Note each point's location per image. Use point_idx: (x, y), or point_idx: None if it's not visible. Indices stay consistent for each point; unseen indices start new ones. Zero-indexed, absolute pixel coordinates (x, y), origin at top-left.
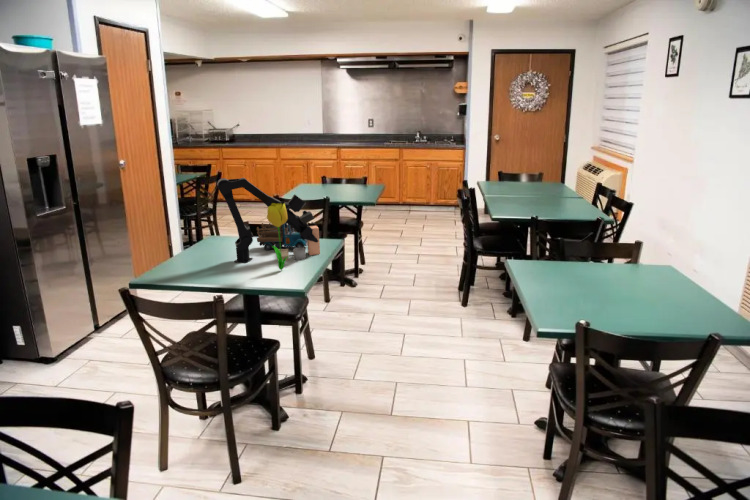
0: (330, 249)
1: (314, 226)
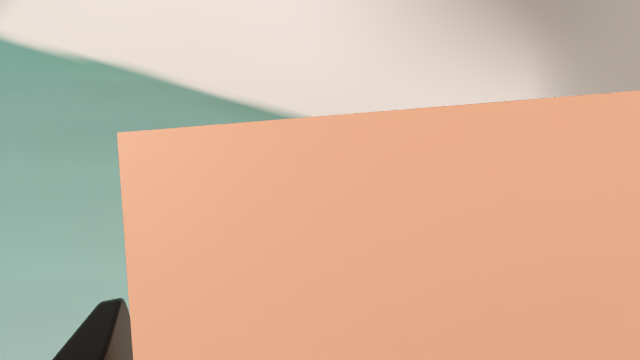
0: (156, 115)
1: (322, 298)
